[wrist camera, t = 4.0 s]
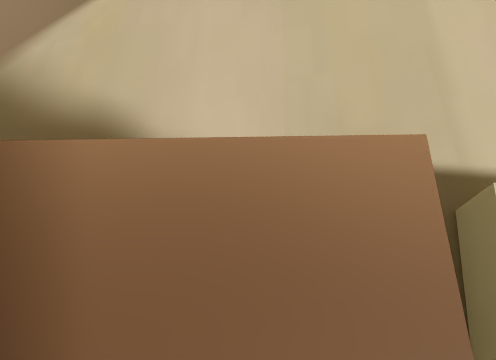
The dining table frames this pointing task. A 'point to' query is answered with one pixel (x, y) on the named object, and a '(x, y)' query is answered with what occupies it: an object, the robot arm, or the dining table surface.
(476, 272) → the base slab
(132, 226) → the pillar
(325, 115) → the dining table surface
